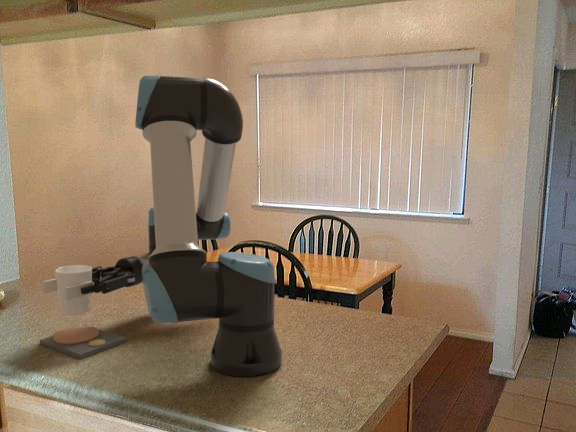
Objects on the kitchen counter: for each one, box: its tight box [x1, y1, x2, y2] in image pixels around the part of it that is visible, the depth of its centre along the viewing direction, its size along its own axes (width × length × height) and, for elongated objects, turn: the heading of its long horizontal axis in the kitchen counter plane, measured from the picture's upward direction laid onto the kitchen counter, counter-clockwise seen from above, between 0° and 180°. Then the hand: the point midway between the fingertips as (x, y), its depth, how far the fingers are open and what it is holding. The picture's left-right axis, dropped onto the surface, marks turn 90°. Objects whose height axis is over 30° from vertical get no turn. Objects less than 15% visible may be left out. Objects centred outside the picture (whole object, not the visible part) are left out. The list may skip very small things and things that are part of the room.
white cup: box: [54, 264, 93, 316], centre depth 119 cm, size 8×8×10 cm
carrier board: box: [39, 324, 127, 360], centre depth 119 cm, size 15×12×2 cm
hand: (55, 290), depth 115 cm, fingers closed on white cup, 8 cm apart
